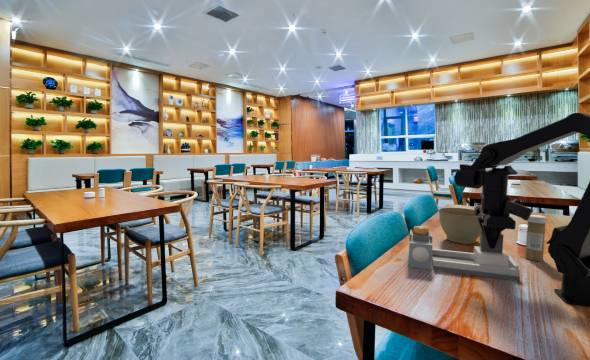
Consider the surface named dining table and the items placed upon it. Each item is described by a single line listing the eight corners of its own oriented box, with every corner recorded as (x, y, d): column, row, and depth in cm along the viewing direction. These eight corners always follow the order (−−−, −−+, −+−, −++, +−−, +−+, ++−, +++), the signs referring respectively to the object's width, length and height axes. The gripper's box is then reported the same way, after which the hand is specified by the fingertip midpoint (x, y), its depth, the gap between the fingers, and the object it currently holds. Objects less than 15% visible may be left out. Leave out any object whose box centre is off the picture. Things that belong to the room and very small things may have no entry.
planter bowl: (472, 250, 104) (474, 218, 103) (428, 238, 117) (429, 210, 116) (495, 242, 112) (497, 212, 111) (452, 232, 126) (453, 206, 125)
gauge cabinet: (431, 270, 86) (432, 239, 85) (408, 267, 88) (409, 237, 87) (429, 256, 98) (431, 229, 97) (409, 253, 100) (410, 227, 99)
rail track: (519, 281, 79) (520, 268, 79) (433, 269, 86) (434, 258, 86) (506, 264, 90) (507, 253, 90) (431, 256, 97) (432, 245, 97)
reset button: (428, 236, 90) (428, 229, 90) (413, 235, 91) (413, 228, 91) (427, 233, 93) (428, 226, 93) (413, 232, 95) (413, 225, 95)
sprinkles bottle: (545, 259, 95) (549, 216, 93) (539, 262, 92) (543, 217, 91) (528, 255, 98) (531, 213, 97) (521, 258, 96) (525, 215, 95)
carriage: (508, 271, 82) (510, 237, 81) (477, 267, 84) (479, 235, 84) (501, 262, 88) (503, 231, 88) (473, 259, 91) (474, 229, 90)
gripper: (543, 197, 73) (538, 261, 74) (519, 188, 90) (515, 240, 92) (488, 194, 77) (484, 256, 78) (475, 186, 94) (472, 237, 96)
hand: (490, 246), depth 86 cm, fingers closed on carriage, 2 cm apart
